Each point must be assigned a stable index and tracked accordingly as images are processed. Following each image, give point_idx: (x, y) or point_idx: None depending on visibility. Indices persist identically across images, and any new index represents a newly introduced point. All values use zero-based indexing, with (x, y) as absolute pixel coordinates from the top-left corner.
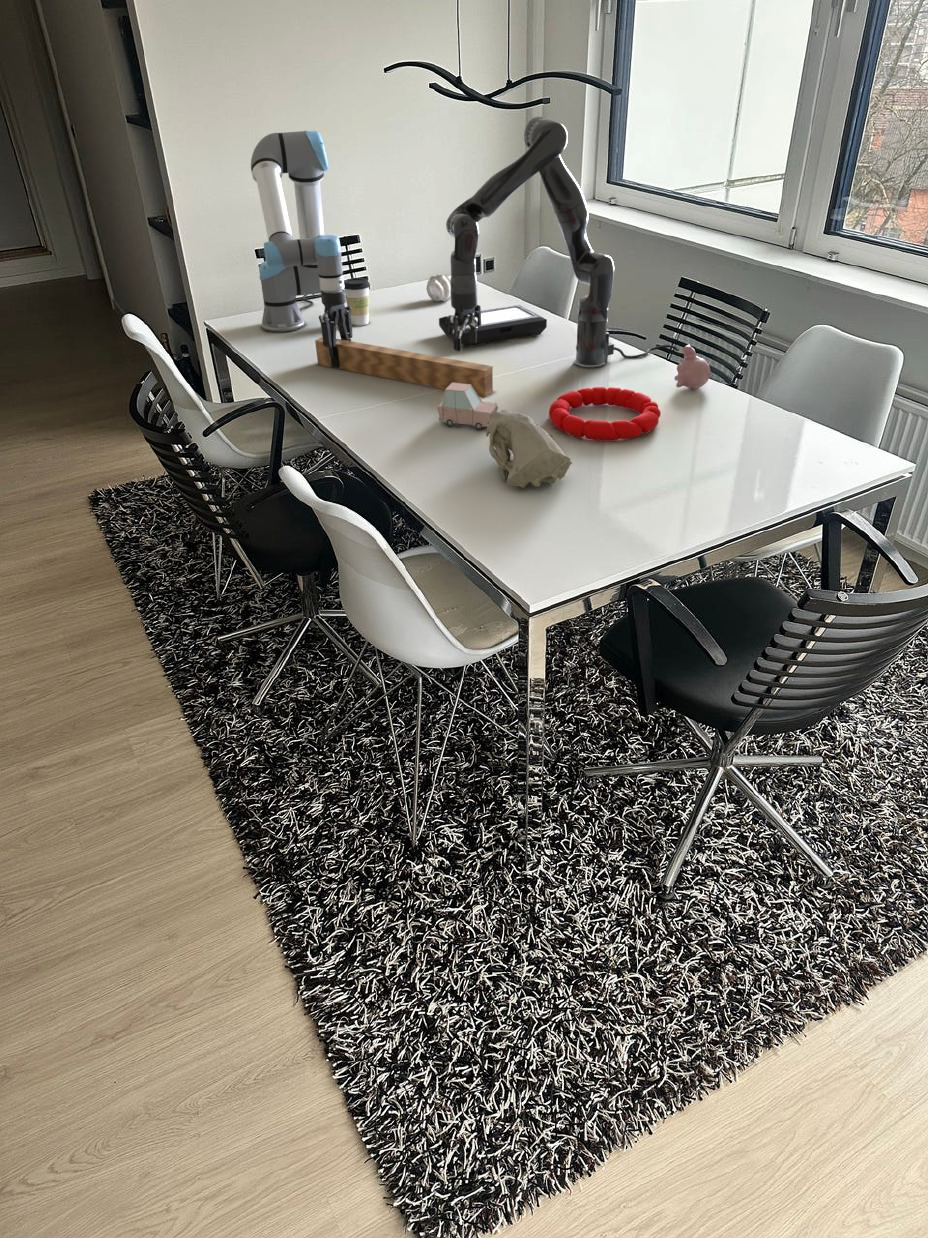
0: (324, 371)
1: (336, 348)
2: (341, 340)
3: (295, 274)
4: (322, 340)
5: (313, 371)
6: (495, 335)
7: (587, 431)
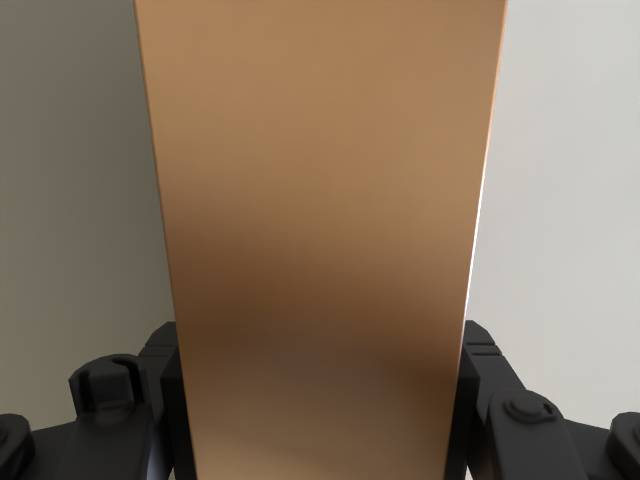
0: (127, 237)
1: (187, 471)
2: (401, 474)
3: None
4: (225, 166)
5: (59, 142)
6: None
7: None
